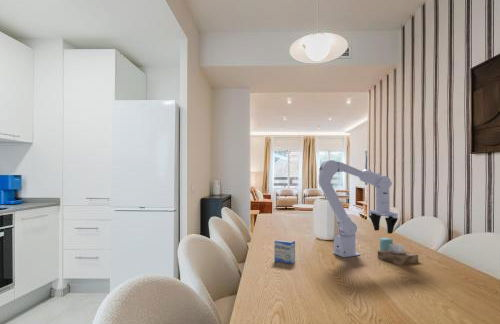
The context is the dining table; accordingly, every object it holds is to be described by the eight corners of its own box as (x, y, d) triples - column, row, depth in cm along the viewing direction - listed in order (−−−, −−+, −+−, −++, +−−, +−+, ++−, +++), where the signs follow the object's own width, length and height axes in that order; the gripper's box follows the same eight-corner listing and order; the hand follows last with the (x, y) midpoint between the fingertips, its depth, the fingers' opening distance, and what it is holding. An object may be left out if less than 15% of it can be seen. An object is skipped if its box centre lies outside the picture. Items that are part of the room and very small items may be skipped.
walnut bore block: (399, 265, 119) (399, 257, 119) (377, 258, 129) (377, 251, 129) (418, 261, 123) (418, 254, 124) (395, 255, 134) (395, 248, 134)
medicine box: (274, 261, 125) (273, 240, 125) (278, 258, 128) (278, 238, 129) (291, 264, 121) (291, 242, 121) (295, 261, 125) (295, 240, 125)
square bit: (397, 261, 124) (397, 246, 124) (389, 258, 127) (389, 244, 127) (404, 260, 125) (404, 245, 125) (396, 257, 129) (395, 243, 129)
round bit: (387, 253, 136) (386, 240, 137) (377, 250, 142) (377, 238, 142) (395, 252, 139) (395, 239, 139) (385, 249, 144) (385, 237, 144)
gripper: (402, 203, 131) (403, 234, 130) (376, 200, 144) (377, 228, 144) (390, 203, 128) (391, 235, 128) (365, 200, 142) (366, 229, 141)
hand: (383, 231), depth 135 cm, fingers open, 7 cm apart
